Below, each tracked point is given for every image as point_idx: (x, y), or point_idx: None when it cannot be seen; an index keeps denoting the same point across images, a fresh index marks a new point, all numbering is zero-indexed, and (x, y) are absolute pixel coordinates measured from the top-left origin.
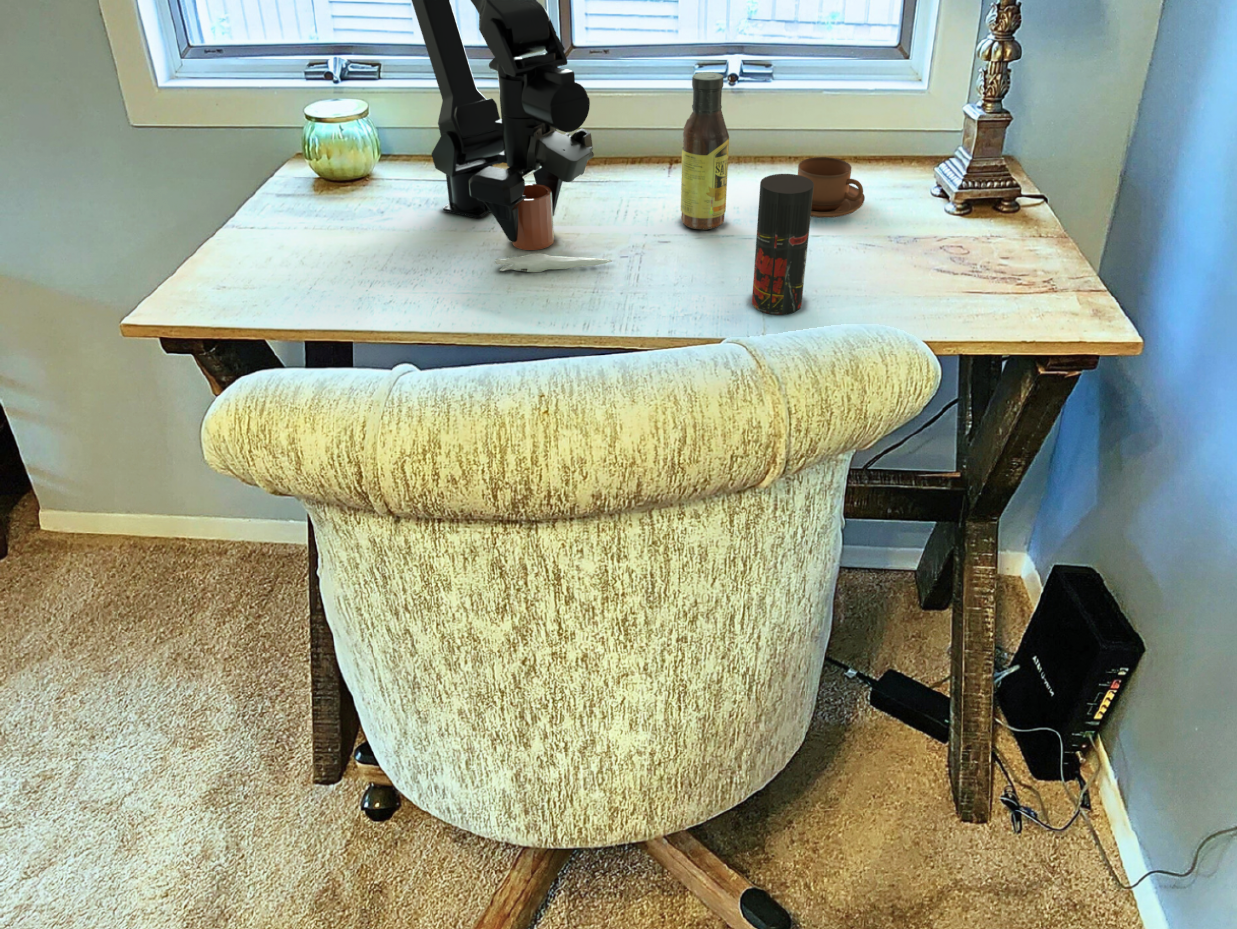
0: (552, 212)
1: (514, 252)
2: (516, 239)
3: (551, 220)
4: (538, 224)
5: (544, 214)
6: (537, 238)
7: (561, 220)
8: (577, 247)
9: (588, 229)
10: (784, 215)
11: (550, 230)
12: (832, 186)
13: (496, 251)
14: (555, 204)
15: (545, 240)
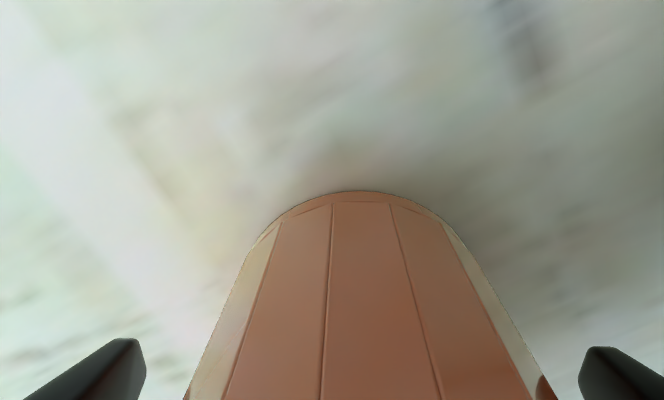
0: (252, 342)
1: (518, 309)
2: (620, 354)
3: (331, 283)
4: (503, 331)
5: (463, 377)
6: (470, 262)
7: (51, 297)
8: (303, 7)
9: (22, 99)
10: None
11: (356, 237)
12: None
13: None
14: (45, 398)
15: (413, 219)
